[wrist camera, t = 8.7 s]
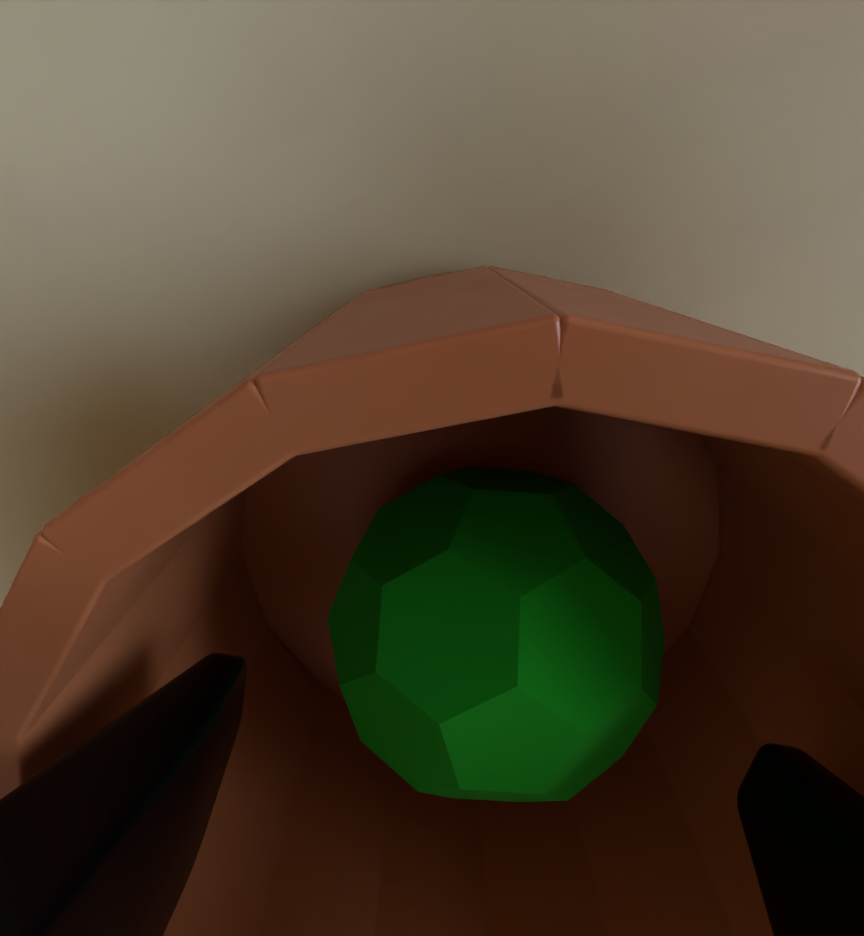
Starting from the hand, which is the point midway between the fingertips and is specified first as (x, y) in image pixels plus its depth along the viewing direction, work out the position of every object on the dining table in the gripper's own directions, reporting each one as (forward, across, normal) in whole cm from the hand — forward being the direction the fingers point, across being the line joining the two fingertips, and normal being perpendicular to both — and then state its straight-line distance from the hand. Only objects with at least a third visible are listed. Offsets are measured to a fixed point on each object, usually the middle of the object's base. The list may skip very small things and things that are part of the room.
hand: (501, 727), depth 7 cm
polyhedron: (+5, 0, 0) cm, 5 cm away
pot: (+5, 0, 0) cm, 5 cm away
